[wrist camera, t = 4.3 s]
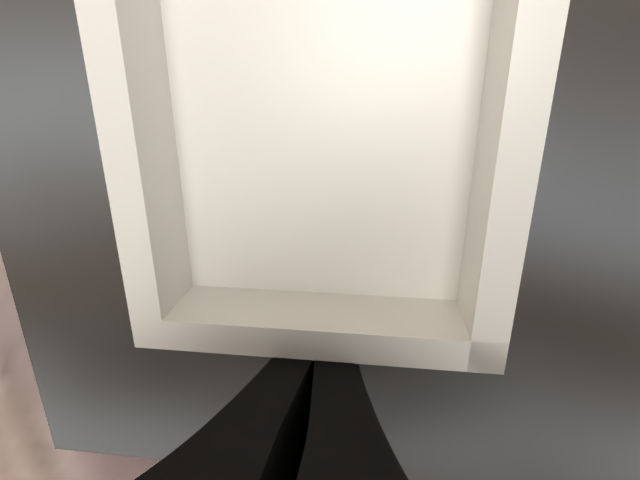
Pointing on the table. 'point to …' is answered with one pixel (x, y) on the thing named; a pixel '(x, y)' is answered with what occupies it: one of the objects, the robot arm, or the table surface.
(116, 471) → the table surface
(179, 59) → the tray shell
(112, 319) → the overhang board
